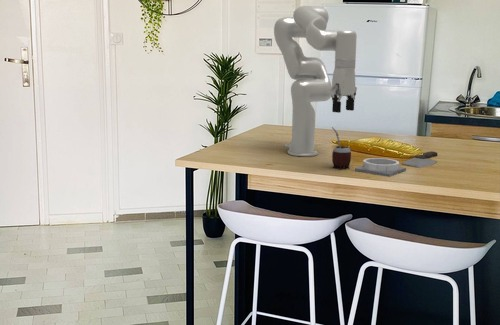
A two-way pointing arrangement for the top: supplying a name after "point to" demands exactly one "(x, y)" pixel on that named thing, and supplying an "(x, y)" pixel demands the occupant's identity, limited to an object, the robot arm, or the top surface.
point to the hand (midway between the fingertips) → (343, 111)
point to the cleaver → (421, 160)
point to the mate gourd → (341, 155)
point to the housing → (380, 166)
